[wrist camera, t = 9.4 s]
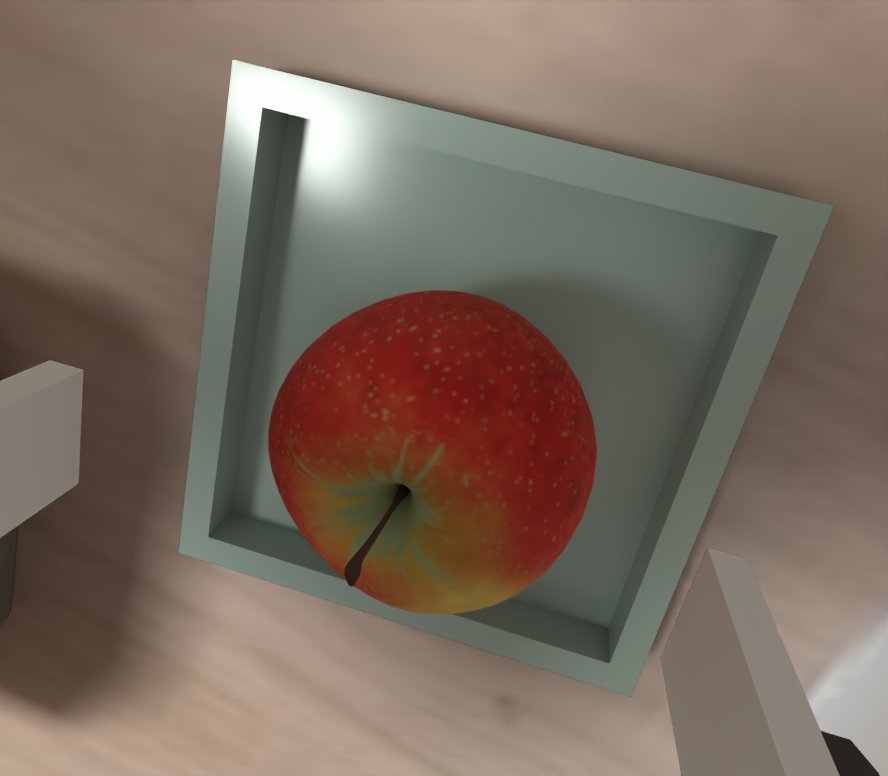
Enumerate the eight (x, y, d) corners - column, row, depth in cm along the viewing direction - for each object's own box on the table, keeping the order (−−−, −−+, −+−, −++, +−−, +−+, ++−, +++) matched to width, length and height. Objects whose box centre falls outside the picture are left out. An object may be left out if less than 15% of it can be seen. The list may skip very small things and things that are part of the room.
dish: (212, 519, 27) (178, 552, 24) (269, 69, 21) (232, 59, 19) (626, 648, 25) (630, 697, 23) (805, 199, 20) (834, 205, 17)
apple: (646, 411, 22) (695, 602, 12) (452, 545, 24) (372, 785, 15) (477, 206, 21) (392, 246, 11) (294, 370, 23) (105, 511, 14)
